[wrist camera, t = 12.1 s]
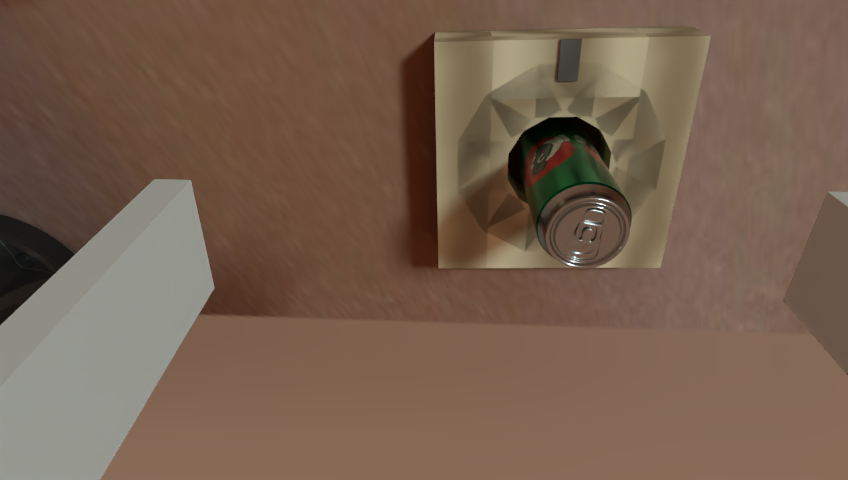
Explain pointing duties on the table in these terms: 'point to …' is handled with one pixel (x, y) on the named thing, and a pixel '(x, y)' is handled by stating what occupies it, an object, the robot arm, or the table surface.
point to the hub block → (559, 97)
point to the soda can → (572, 195)
